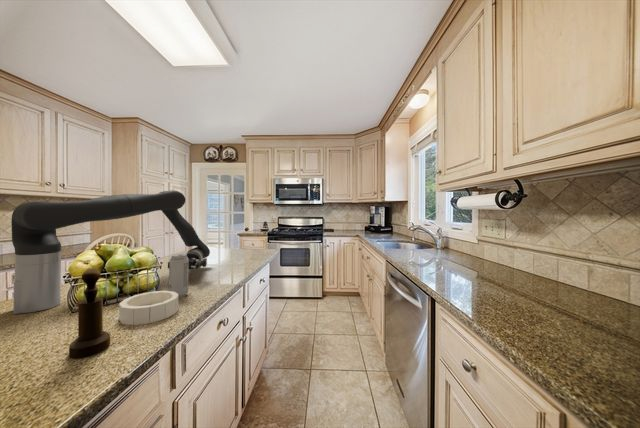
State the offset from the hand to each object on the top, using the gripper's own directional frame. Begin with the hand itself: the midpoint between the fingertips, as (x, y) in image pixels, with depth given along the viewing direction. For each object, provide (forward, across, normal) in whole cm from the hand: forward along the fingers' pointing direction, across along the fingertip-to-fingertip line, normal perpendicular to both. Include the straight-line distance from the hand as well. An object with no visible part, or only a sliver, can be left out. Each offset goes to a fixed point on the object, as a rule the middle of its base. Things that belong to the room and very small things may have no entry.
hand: (184, 267), depth 94 cm
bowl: (+23, -4, +8) cm, 25 cm away
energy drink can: (+9, 0, +9) cm, 13 cm away
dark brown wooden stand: (+41, -10, +9) cm, 43 cm away
